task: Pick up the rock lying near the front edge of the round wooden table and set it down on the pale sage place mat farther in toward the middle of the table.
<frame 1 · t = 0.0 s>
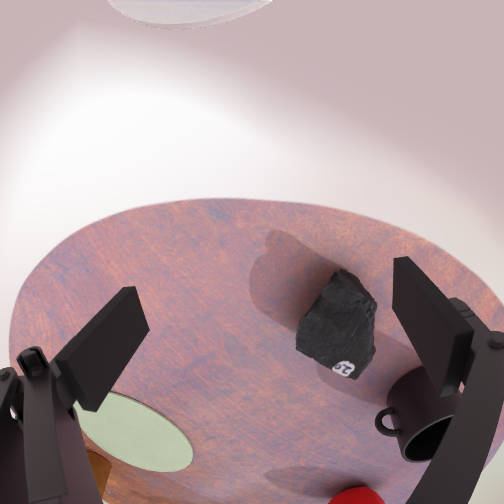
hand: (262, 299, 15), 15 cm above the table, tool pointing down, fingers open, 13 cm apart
rock: (336, 312, 31), on the table
mug: (410, 390, 34), on the table
disposable coffee cup: (98, 459, 49), on the table
mat: (130, 436, 43), on the table
tomato: (353, 489, 44), on the table
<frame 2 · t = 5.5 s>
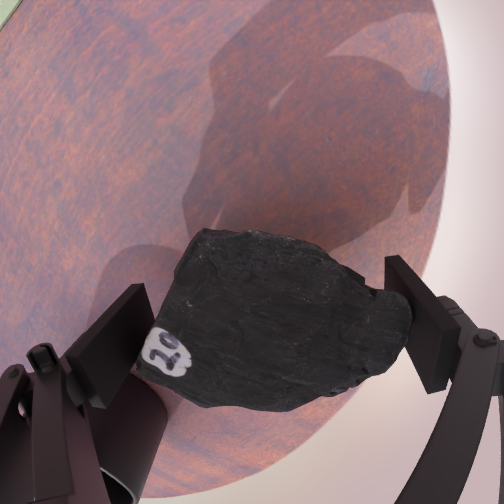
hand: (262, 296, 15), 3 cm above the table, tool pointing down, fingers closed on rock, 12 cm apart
rock: (264, 292, 16), point 3 cm above the table, touching gripper
mug: (115, 389, 24), on the table
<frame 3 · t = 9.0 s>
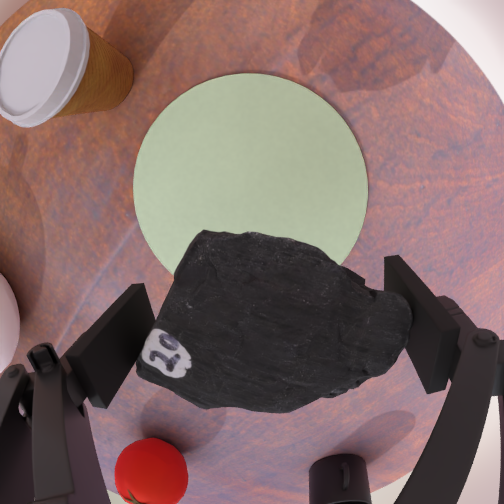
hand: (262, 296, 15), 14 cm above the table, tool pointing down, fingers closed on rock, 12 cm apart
rock: (264, 293, 16), point 14 cm above the table, touching gripper
mug: (338, 463, 41), on the table
disposable coffee cup: (107, 81, 25), on the table
mat: (246, 193, 28), on the table
tomato: (163, 445, 43), on the table
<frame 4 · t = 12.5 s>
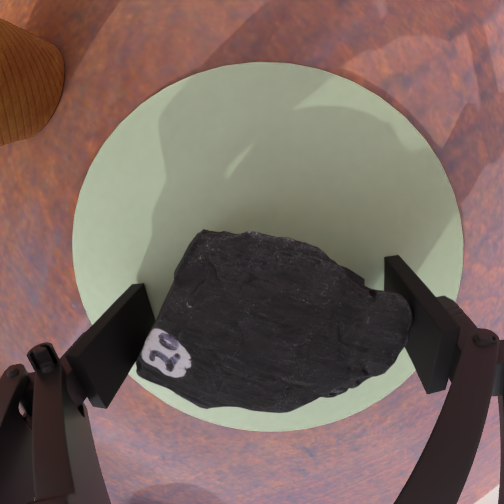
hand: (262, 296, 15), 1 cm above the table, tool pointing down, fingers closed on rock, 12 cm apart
rock: (264, 293, 16), resting on mat, touching gripper
disposable coffee cup: (30, 89, 13), on the table
mat: (262, 290, 16), on the table
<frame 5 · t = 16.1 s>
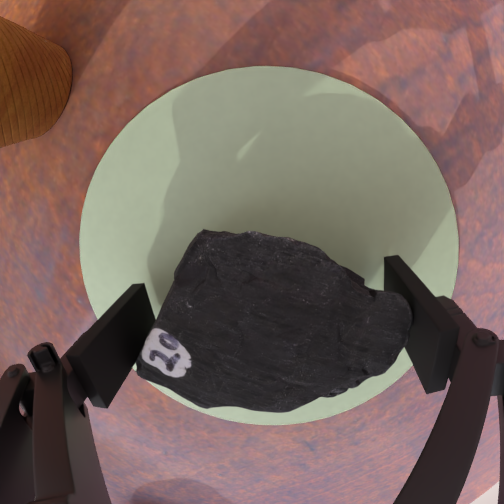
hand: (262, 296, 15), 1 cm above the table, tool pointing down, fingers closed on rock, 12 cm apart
rock: (264, 293, 16), point 1 cm above the table, touching gripper
disposable coffee cup: (38, 90, 14), on the table
mat: (264, 285, 17), on the table
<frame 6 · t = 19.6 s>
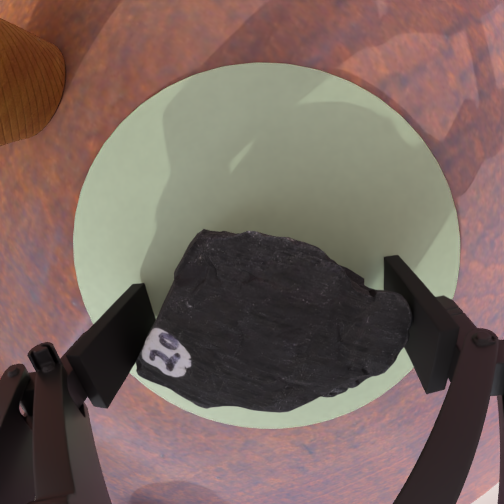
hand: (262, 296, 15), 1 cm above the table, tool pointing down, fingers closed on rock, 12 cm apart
rock: (264, 293, 16), resting on mat, touching gripper
disposable coffee cup: (31, 89, 13), on the table
mat: (261, 287, 16), on the table
when the fingers open (1 cm above the table, at t = 22.8 s): rock stays where it is, resting on mat.
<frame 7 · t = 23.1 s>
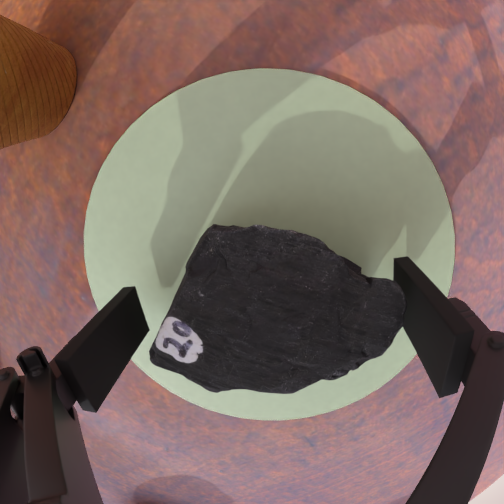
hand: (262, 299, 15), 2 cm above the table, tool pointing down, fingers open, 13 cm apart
rock: (268, 284, 17), resting on mat
disposable coffee cup: (42, 91, 14), on the table
mat: (264, 281, 17), on the table
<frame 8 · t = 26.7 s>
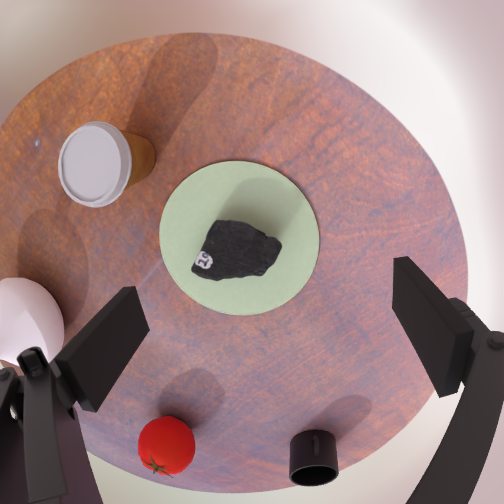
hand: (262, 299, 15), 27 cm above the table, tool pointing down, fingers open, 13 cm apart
rock: (238, 244, 42), resting on mat
mug: (313, 438, 55), on the table
disposable coffee cup: (136, 157, 40), on the table
mat: (236, 243, 42), on the table
vase: (43, 307, 51), on the table
tomato: (175, 422, 57), on the table
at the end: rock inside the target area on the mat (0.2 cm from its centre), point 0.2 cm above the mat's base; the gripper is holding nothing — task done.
